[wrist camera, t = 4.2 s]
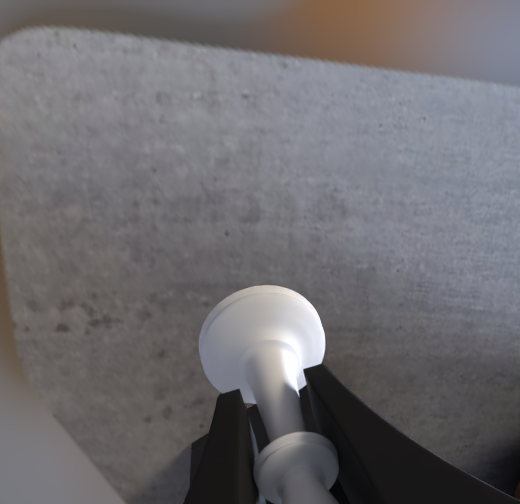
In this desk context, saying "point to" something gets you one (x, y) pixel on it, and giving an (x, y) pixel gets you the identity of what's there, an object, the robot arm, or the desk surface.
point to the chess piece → (273, 385)
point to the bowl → (517, 491)
